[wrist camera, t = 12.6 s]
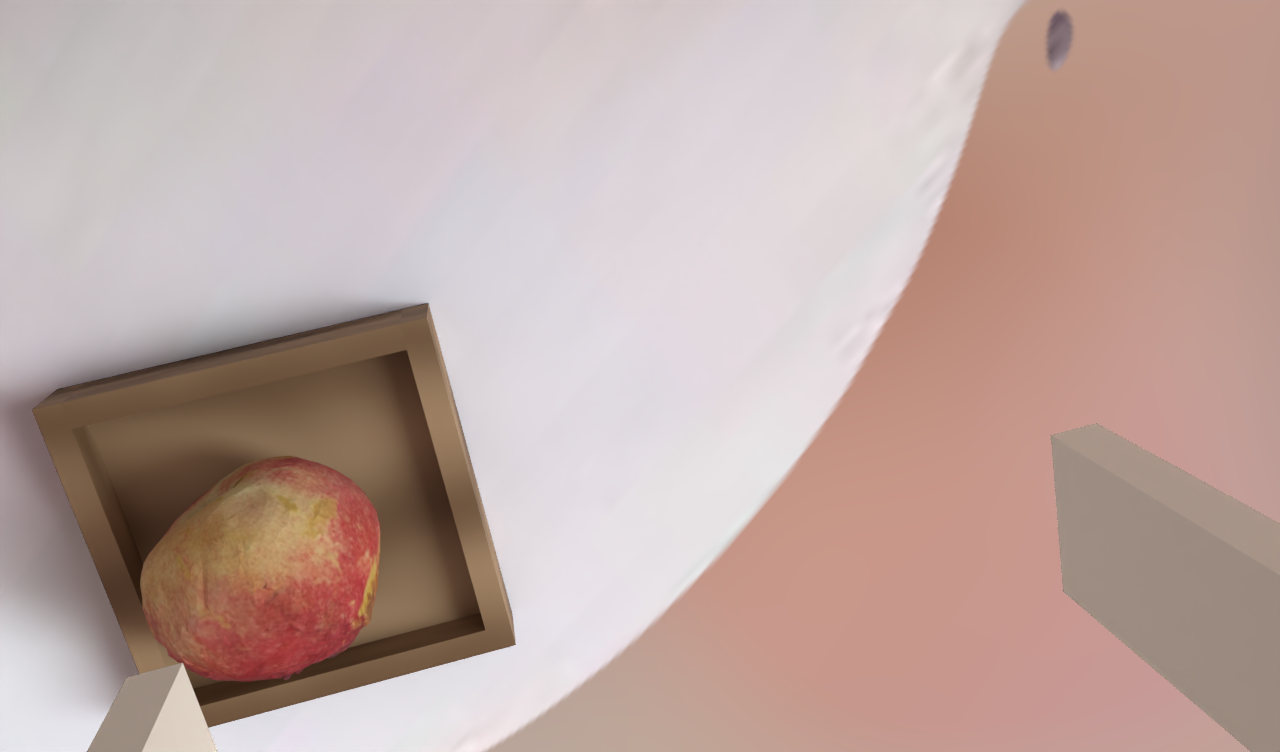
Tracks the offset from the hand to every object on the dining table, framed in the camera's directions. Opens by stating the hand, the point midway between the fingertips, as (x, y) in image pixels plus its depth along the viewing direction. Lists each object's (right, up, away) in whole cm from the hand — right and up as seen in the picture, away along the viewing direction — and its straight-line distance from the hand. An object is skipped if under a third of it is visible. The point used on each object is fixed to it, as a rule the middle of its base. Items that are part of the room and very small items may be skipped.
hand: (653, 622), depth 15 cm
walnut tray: (-14, -2, +26) cm, 30 cm away
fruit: (-14, -2, +25) cm, 29 cm away
